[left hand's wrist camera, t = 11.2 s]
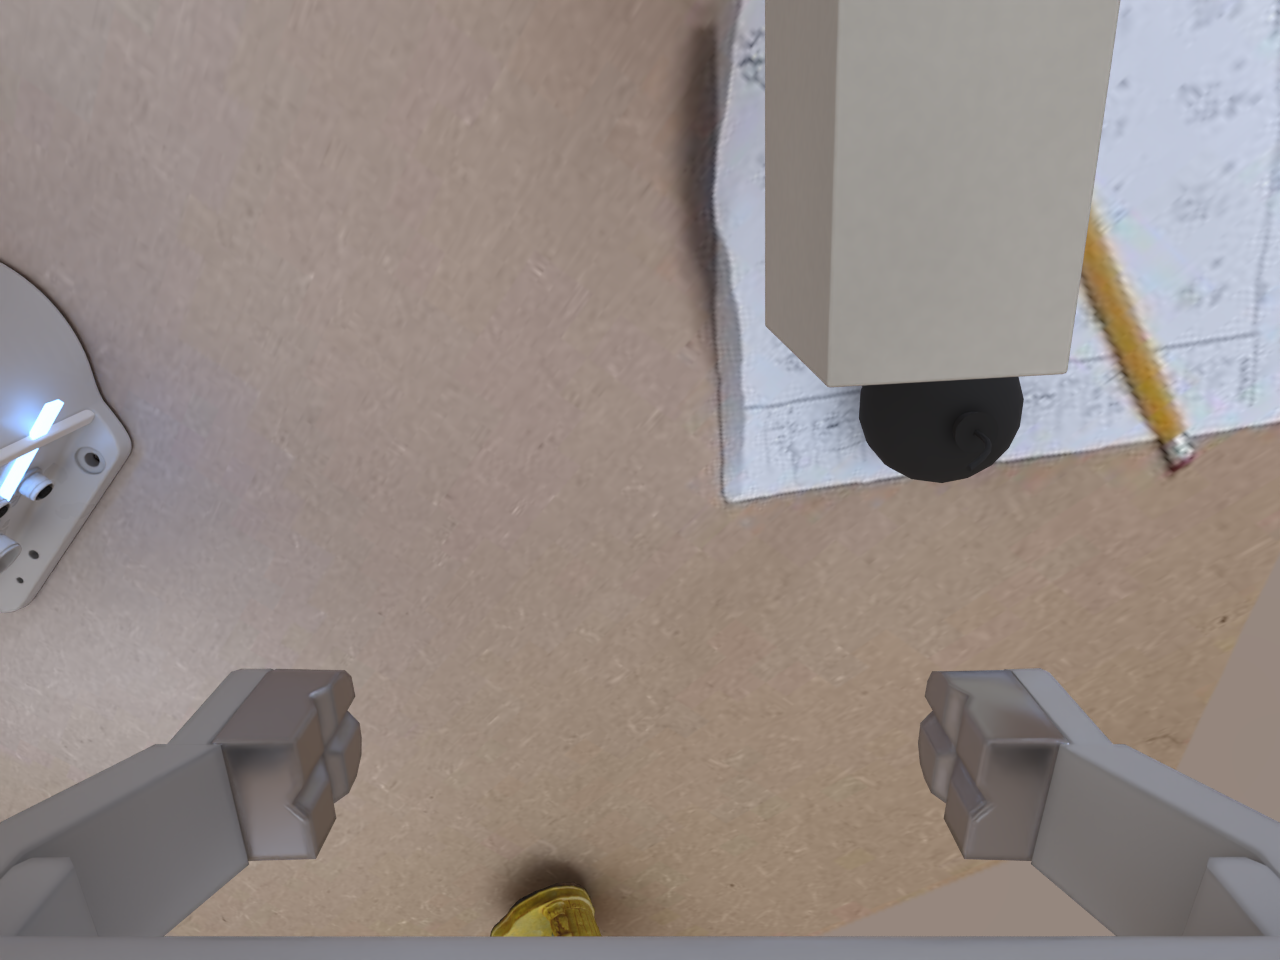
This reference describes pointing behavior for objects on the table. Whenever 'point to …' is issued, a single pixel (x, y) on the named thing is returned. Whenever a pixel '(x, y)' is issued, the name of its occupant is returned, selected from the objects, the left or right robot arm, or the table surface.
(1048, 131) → the bar
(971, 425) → the bomb
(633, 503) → the table surface
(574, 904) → the shrine
